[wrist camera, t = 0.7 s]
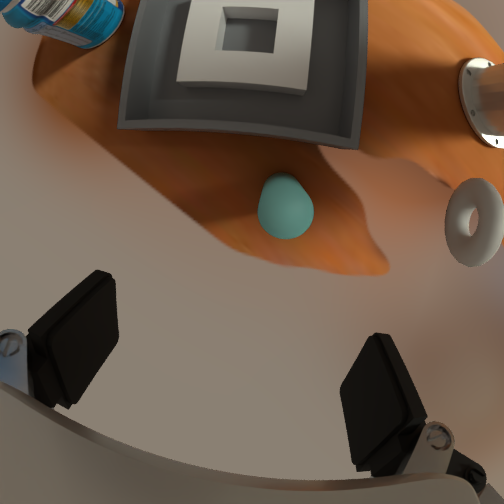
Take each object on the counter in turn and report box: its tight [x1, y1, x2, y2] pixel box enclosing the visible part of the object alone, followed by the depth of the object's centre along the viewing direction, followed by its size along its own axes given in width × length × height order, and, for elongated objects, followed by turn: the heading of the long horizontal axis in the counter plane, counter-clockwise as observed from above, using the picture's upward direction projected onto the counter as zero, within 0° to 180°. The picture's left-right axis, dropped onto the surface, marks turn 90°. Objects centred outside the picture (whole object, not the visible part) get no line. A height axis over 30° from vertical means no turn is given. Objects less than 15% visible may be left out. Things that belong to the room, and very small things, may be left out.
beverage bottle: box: [0, 0, 124, 49], centre depth 12 cm, size 8×8×20 cm
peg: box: [258, 172, 314, 239], centre depth 24 cm, size 4×4×10 cm
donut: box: [445, 178, 504, 267], centre depth 23 cm, size 10×4×10 cm, turn 174°
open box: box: [117, 0, 368, 150], centre depth 20 cm, size 22×22×6 cm
